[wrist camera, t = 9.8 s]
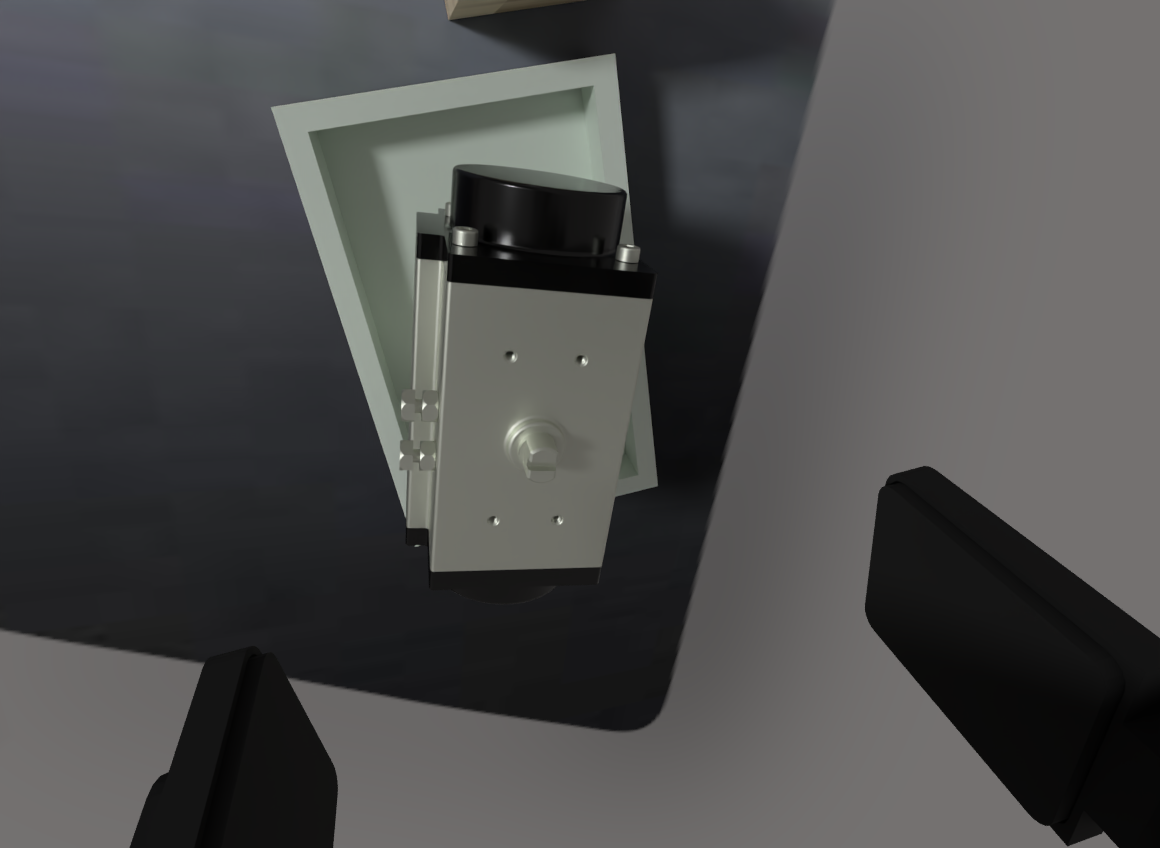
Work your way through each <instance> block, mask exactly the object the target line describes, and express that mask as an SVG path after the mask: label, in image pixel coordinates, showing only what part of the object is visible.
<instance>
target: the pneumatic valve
mask: <svg viewBox="0 0 1160 848" xmlns="http://www.w3.org/2000/svg"><path fill="white" fill-rule="evenodd" d="M626 200H627V193H626V191H625V190H623V189H622V188H619V187H617V186H614V185H610V184H606V183H602V182H598V181H594V180H589V179H584V178H579V177H574V176H568V175H563V174H557V173H551V172H544V171H537V170H530V169H522V168H514V167H505V166H495V165H481V164H461V165H456V166H454V168H453V170H452V187H451V202H446V204H445V209H441V208H439V209H438V214H434V213H425V212H417V214H416V242H415V269H414V297H413V324H412V351H411V379H410V389H403V390H402V399H401V421H405V422H409V434H408V440H400V464H399V470H407V489H406V545H409V546H410V545H425V546H427V547H428V572H429V589H431V590H452V591H454V592H455V593H457V594H459V595H461V596H463V597H466V598H468V599H472V600H476V601H479V602H484V603H491V604H516V603H523V602H527V601H531V600H534V599H537V598H539V597H541V596H543V595H545V594H547V593H549V592H550V591H551V590H553V589H554V588H555V587H556V586H564V585H592V584H598V582H599V577H600V572H601V567H602V561H603V556H604V551H605V546H606V541H607V535H608V530H609V525H610V520H611V515H612V509H613V504H614V499H615V494H616V488H617V483H618V478H619V473H620V468H621V462H622V457H623V452H624V447H625V441H626V436H627V431H628V426H629V421H630V415H631V410H632V405H633V400H634V394H635V389H636V384H637V379H638V374H639V368H640V363H641V358H642V353H643V348H644V342H645V337H646V332H647V327H648V321H649V316H650V311H651V306H652V301H653V295H654V290H655V285H656V280H657V274H658V273H657V272H656V271H654V270H653V269H652V268H650V267H649V266H648V265H646V264H645V263H643V262H642V261H641V260H639V255H640V248H639V247H638V246H635V245H630V244H619V243H620V237H621V231H622V225H623V219H624V213H625V206H626Z"/></svg>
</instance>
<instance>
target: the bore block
mask: <svg viewBox="0 0 1160 848" xmlns="http://www.w3.org/2000/svg"><path fill="white" fill-rule="evenodd" d="M579 1H586V0H445V5H446V10H447V15H448V20H454V19H461V18H468V17H475V16H482V15H489V14H495V13H502V12H509V11H516V10H523V9H530V8H537V7H544V6H551V5H558V4H565V3H572V2H579Z"/></svg>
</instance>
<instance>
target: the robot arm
mask: <svg viewBox="0 0 1160 848" xmlns="http://www.w3.org/2000/svg"><path fill="white" fill-rule="evenodd" d="M865 612H866V616H867V619H868V622H869V623H870V625H871V627H872V628H873V629H874V631H875V632H876V633H877V634H878V636H879V637H880V638H881V639H882V641H883V642H884V643H885V644H886V645H887V647H888V648H889V649H890V650H891V651H892V652H893V654H894V655H895V656H896V657H897V658H898V660H899V661H900V662H901V663H902V664H903V666H904V667H906V669H907V670H908V671H909V672H910V674H911V675H912V676H913V677H914V679H915V680H916V681H917V682H918V683H919V684H920V686H921V687H922V688H923V689H924V690H925V692H926V693H927V694H928V695H929V696H930V697H931V699H932V700H933V701H934V702H935V703H936V705H937V706H938V707H939V708H940V709H941V710H942V712H943V713H944V714H945V715H946V717H947V718H948V719H949V720H950V721H951V722H952V724H953V725H954V726H955V727H956V728H957V730H958V731H959V732H960V733H961V734H962V736H963V737H964V738H965V739H966V740H967V741H968V743H969V744H970V745H971V746H972V747H973V748H974V750H975V751H976V752H977V753H978V754H979V756H980V757H981V758H982V759H983V760H984V762H985V763H986V764H987V765H988V766H989V767H990V769H991V770H992V771H993V772H994V773H995V774H996V776H997V777H998V778H999V779H1000V781H1001V782H1002V783H1003V784H1004V785H1005V786H1006V788H1007V789H1008V790H1009V791H1010V792H1011V794H1012V795H1013V796H1014V797H1015V798H1016V799H1017V801H1018V802H1019V803H1020V804H1021V805H1022V807H1023V808H1024V809H1025V810H1026V811H1027V812H1028V814H1029V815H1030V816H1031V817H1032V818H1033V819H1034V820H1036V821H1037V822H1039V823H1040V824H1043V825H1045V826H1050V827H1051V828H1052V829H1053V830H1054V831H1055V832H1056V834H1057V835H1058V836H1059V837H1060V838H1061V839H1062V841H1064V843H1065V844H1066V845H1067V846H1070V845H1072V844H1075V843H1078V842H1080V841H1083V840H1085V839H1088V838H1091V837H1094V836H1096V835H1099V834H1102V832H1103V831H1104V832H1105V833H1106V834H1107V835H1108V837H1110V839H1111V840H1112V841H1113V842H1114V843H1115V844H1116V845H1117V846H1118V847H1119V848H1160V638H1159V637H1158V636H1156V635H1155V634H1153V633H1152V632H1151V631H1150V630H1148V629H1147V628H1145V627H1144V626H1143V625H1142V624H1140V623H1139V622H1137V621H1136V620H1135V619H1134V618H1132V617H1131V616H1130V615H1128V614H1127V613H1125V612H1124V611H1123V610H1121V609H1120V608H1119V607H1118V606H1116V605H1115V604H1114V603H1112V602H1111V601H1110V600H1108V599H1107V598H1106V597H1104V596H1103V595H1102V594H1100V593H1099V592H1098V591H1096V590H1095V589H1094V588H1092V587H1091V586H1090V585H1088V584H1087V583H1086V582H1084V581H1083V580H1082V579H1080V578H1079V577H1077V576H1076V575H1075V574H1074V573H1072V572H1071V571H1070V570H1068V569H1067V568H1066V567H1064V566H1063V565H1062V564H1060V563H1059V562H1058V561H1056V560H1055V559H1054V558H1052V557H1051V556H1050V555H1048V554H1047V553H1046V552H1044V551H1043V550H1042V549H1040V548H1039V547H1038V546H1036V545H1035V544H1034V543H1032V542H1031V541H1030V540H1028V539H1027V538H1026V537H1024V536H1023V535H1022V534H1020V533H1019V532H1018V531H1016V530H1015V529H1014V528H1012V527H1011V526H1010V525H1008V524H1007V523H1006V522H1004V521H1003V520H1002V519H1000V518H999V517H997V516H996V515H995V514H994V513H992V512H991V511H990V510H988V509H987V508H986V507H984V506H983V505H982V504H980V503H979V502H977V501H976V500H975V499H974V498H972V497H971V496H970V495H968V494H967V493H966V492H964V491H963V490H962V489H960V488H959V487H958V486H956V485H955V484H953V483H952V482H951V481H950V480H948V479H947V478H946V477H944V476H943V475H942V474H940V473H939V472H938V471H936V470H935V469H933V468H931V467H928V466H923V467H919V468H915V469H911V470H908V471H904V472H900V473H897V474H893V475H891V476H889V478H888V479H887V481H886V485H885V486H884V487H882V488H881V489H880V491H879V494H878V503H877V511H876V519H875V528H874V536H873V544H872V552H871V560H870V569H869V577H868V585H867V593H866V602H865ZM337 792H338V785H337V775H336V771H335V768H334V765H333V763H332V761H331V759H330V757H329V756H328V754H327V752H326V750H325V748H324V746H323V744H322V742H321V740H320V739H319V737H318V735H317V733H316V731H315V729H314V727H313V725H312V724H311V722H310V720H309V718H308V716H307V715H306V712H305V710H304V709H303V707H302V705H301V703H300V701H299V699H298V697H297V696H296V694H295V692H294V690H293V688H292V686H291V684H290V682H289V681H288V679H287V677H286V675H285V673H284V671H283V669H282V667H281V666H280V664H279V662H278V660H277V658H276V657H275V655H274V654H273V653H271V652H270V653H265V654H262V653H261V652H260V650H259V649H258V648H257V647H255V646H250V647H247V648H243V649H239V650H235V651H232V652H228V653H224V654H220V655H217V656H213V657H210V658H209V659H208V660H207V661H206V662H205V664H204V666H203V669H202V672H201V675H200V678H199V681H198V684H197V687H196V690H195V693H194V696H193V699H192V702H191V706H190V709H189V712H188V715H187V718H186V721H185V724H184V727H183V730H182V733H181V736H180V739H179V742H178V745H177V748H176V751H175V754H174V758H173V761H172V764H171V767H170V770H169V772H168V773H166V774H164V775H161V776H160V777H159V778H158V779H157V781H156V782H155V783H154V784H153V786H152V788H151V790H150V792H149V794H148V797H147V799H146V802H145V805H144V808H143V810H142V813H141V816H140V819H139V822H138V825H137V828H136V831H135V833H134V836H133V839H132V842H131V845H130V848H333V841H334V830H335V818H336V807H337V806H336V805H337V795H338V793H337Z"/></svg>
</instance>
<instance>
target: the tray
mask: <svg viewBox="0 0 1160 848" xmlns="http://www.w3.org/2000/svg"><path fill="white" fill-rule="evenodd" d="M271 108H272V112H273V115H274V118H275V121H276V124H277V127H278V130H279V133H280V136H281V139H282V142H283V145H284V148H285V151H286V154H287V157H288V160H289V163H290V166H291V169H292V173H293V176H294V179H295V182H296V185H297V188H298V191H299V194H300V197H301V200H302V203H303V206H304V209H305V212H306V215H307V218H308V221H309V224H310V227H311V230H312V234H313V237H314V240H315V243H316V246H317V249H318V252H319V255H320V258H321V261H322V264H323V267H324V270H325V273H326V276H327V279H328V282H329V285H330V288H331V291H332V295H333V298H334V301H335V304H336V307H337V310H338V313H339V316H340V319H341V322H342V325H343V328H344V331H345V334H346V337H347V340H348V343H349V346H350V349H351V352H352V355H353V359H354V362H355V365H356V368H357V371H358V374H359V377H360V380H361V383H362V386H363V389H364V392H365V395H366V398H367V401H368V404H369V407H370V410H371V413H372V416H373V420H374V423H375V426H376V429H377V432H378V435H379V438H380V441H381V444H382V447H383V450H384V453H385V456H386V459H387V462H388V465H389V468H390V471H391V474H392V477H393V481H394V484H395V487H396V490H397V493H398V496H399V499H400V502H401V505H402V508H403V511H404V514H405V517H406V489H407V470H399V464H400V440H408V434H409V422H405V421H401V399H402V390H403V389H410V379H411V351H412V324H413V297H414V269H415V242H416V214H417V212H425V213H434V214H438V209H439V208H441V209H445V204H446V202H451V187H452V170H453V168H454V166H456V165H461V164H481V165H495V166H505V167H514V168H522V169H530V170H537V171H544V172H551V173H557V174H563V175H568V176H574V177H579V178H584V179H589V180H594V181H598V182H602V183H606V184H610V185H614V186H617V187H619V188H622V189H623V190H625V191H626V193H627V200H626V206H625V213H624V219H623V225H622V231H621V237H620V243H619V244H630V245H634V239H633V229H632V219H631V208H630V198H629V188H628V178H627V168H626V158H625V148H624V138H623V127H622V117H621V107H620V97H619V87H618V77H617V67H616V56H615V53H614V54H607V55H601V56H595V57H588V58H582V59H575V60H569V61H563V62H556V63H550V64H544V65H537V66H531V67H524V68H518V69H512V70H505V71H499V72H492V73H486V74H480V75H473V76H467V77H460V78H454V79H448V80H441V81H435V82H429V83H422V84H416V85H409V86H403V87H397V88H390V89H384V90H377V91H371V92H365V93H358V94H352V95H345V96H339V97H333V98H326V99H320V100H313V101H307V102H301V103H294V104H288V105H282V106H275V107H271ZM656 486H658V482H657V472H656V462H655V452H654V442H653V431H652V421H651V411H650V401H649V391H648V381H647V371H646V360H645V350H644V348H643V353H642V358H641V363H640V368H639V374H638V379H637V384H636V389H635V394H634V400H633V405H632V410H631V415H630V421H629V426H628V431H627V436H626V441H625V447H624V452H623V457H622V462H621V468H620V473H619V478H618V483H617V488H616V494H615V497H616V496H620V495H624V494H628V493H632V492H636V491H640V490H644V489H648V488H652V487H656ZM416 546H420V545H415V547H416Z"/></svg>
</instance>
